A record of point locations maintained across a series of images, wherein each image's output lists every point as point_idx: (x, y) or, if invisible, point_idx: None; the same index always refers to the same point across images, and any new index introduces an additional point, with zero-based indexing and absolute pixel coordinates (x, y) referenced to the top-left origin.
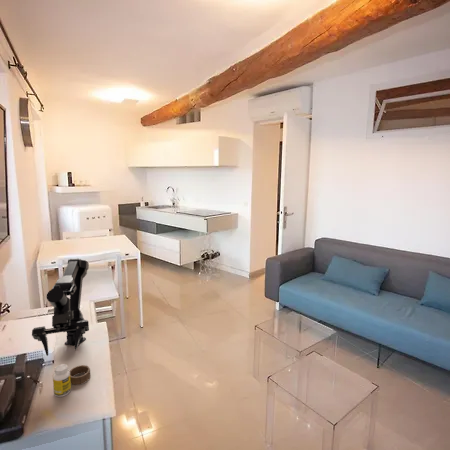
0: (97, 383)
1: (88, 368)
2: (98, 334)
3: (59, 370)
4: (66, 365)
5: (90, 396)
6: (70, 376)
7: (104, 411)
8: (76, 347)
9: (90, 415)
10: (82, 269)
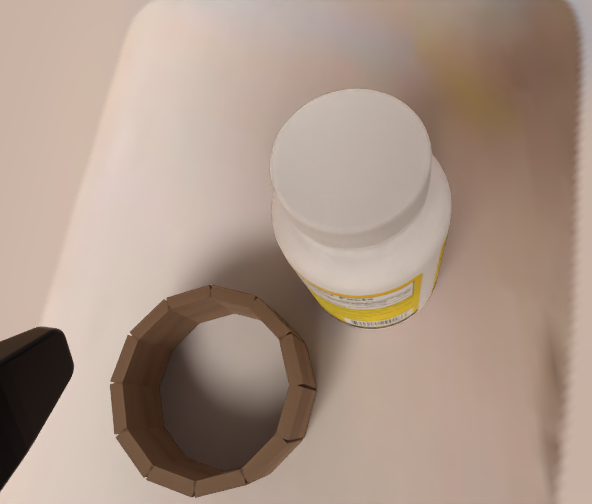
0: (130, 257)
1: (121, 388)
2: None
3: (369, 96)
4: (278, 173)
5: (202, 145)
6: (288, 335)
7: (166, 7)
8: (3, 343)
9: (235, 2)
10: None
